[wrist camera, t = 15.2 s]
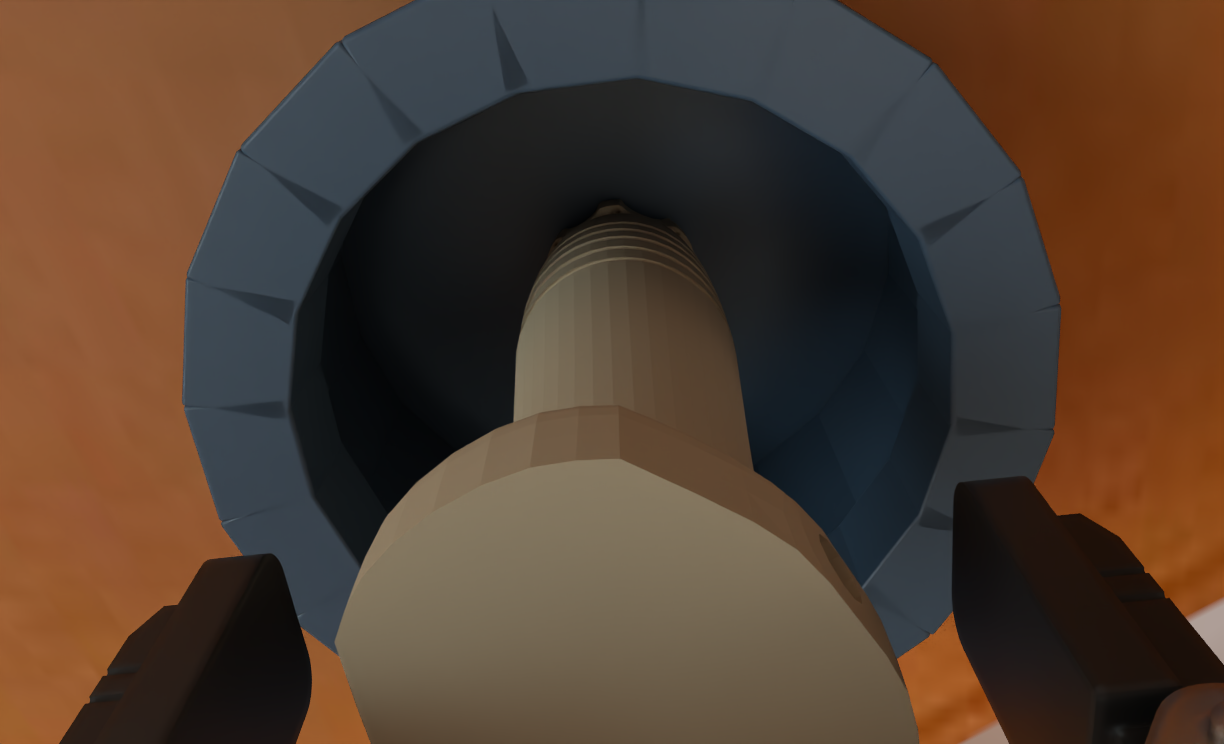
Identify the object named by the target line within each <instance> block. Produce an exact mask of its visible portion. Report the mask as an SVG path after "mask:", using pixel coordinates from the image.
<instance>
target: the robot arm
mask: <svg viewBox="0 0 1224 744" xmlns="http://www.w3.org/2000/svg"><path fill="white" fill-rule="evenodd" d="M952 606H953V613H954V619H955V624H956V628H957V632H958V635H959V639H960V641H961V644H962V646H963V649H964V651H965V653H966V655H967V657H968V659H969V661H970V663H971V665H972V668H973V670H974V672H975V674H976V676H977V678H978V680H979V682H980V684H981V686H982V688H983V690H984V692H985V694H986V696H987V699H988V701H989V703H990V705H991V707H992V709H993V711H994V713H995V715H996V717H997V719H998V721H999V723H1000V725H1001V727H1002V729H1003V732H1004V734H1005V736H1006V738H1007V740H1008V742H1009V744H1224V665H1223V663H1222V662H1221V661H1220V660H1219V659H1218V657H1217V656H1216V655H1215V654H1214V652H1213V651H1212V650H1211V649H1210V647H1209V646H1208V645H1207V644H1206V643H1205V641H1204V640H1203V639H1202V638H1201V636H1200V635H1199V634H1198V633H1197V631H1196V630H1195V629H1194V628H1193V627H1192V625H1191V624H1190V623H1189V622H1188V620H1187V619H1186V618H1185V617H1184V616H1183V614H1182V613H1181V612H1180V611H1179V609H1178V608H1177V607H1176V606H1175V604H1174V603H1173V602H1172V601H1171V600H1170V598H1165V596H1164V591H1163V590H1162V589H1161V587H1160V586H1159V585H1158V584H1157V582H1156V581H1155V580H1154V579H1153V578H1152V576H1151V575H1150V574H1149V573H1145V571H1144V566H1143V565H1142V564H1141V563H1140V562H1139V560H1138V559H1137V558H1136V557H1135V555H1134V554H1133V553H1132V552H1131V551H1130V549H1129V548H1128V547H1127V546H1126V544H1125V543H1124V542H1123V541H1122V539H1121V538H1120V537H1118V536H1117V535H1115V534H1113V533H1112V532H1110V531H1108V530H1107V529H1105V528H1103V527H1102V526H1100V525H1098V524H1097V523H1095V522H1093V521H1092V520H1090V519H1088V518H1087V517H1085V516H1083V515H1082V514H1080V513H1079V514H1069V515H1060V516H1057V515H1056V514H1055V512H1054V511H1053V510H1052V508H1051V507H1050V506H1049V504H1048V503H1047V502H1046V500H1045V499H1044V498H1043V496H1042V495H1041V494H1040V492H1039V491H1038V490H1037V488H1036V487H1035V486H1034V484H1033V483H1032V482H1031V480H1030V479H1029V478H1027V477H1026V476H1014V477H1005V478H995V479H986V480H976V481H967V482H960V483H958V484H957V486H956V488H955V492H954V501H953V544H952ZM107 670H108V674H107V676H103V677H102V678H101V680H100V681H99V683H98V685H97V686H96V688H95V689H94V691H93V692H92V694H91V695H90V703H88V704H85V705H84V706H83V708H82V709H81V711H80V712H79V714H78V715H77V717H76V718H75V720H74V722H73V723H72V725H71V726H70V728H69V729H68V731H67V732H66V734H65V735H64V737H63V738H62V740H61V742H60V743H59V744H296V741H297V739H298V736H299V733H300V730H301V728H302V725H303V722H304V720H305V717H306V714H307V711H308V708H309V704H310V698H311V689H312V673H311V664H310V658H309V654H308V650H307V647H306V644H305V640H304V637H303V634H302V630H301V627H300V624H299V620H298V617H297V614H296V610H295V607H294V604H293V600H292V597H291V594H290V590H289V587H288V584H287V580H286V577H285V574H284V571H283V568H282V565H281V563H280V561H279V560H278V558H277V557H276V556H275V555H274V554H272V553H265V554H256V555H246V556H237V557H227V558H218V559H210V560H207V561H206V562H205V563H204V564H203V565H202V566H201V568H200V569H199V571H198V573H197V574H196V576H195V578H194V579H193V581H192V583H191V584H190V586H189V587H188V589H187V591H186V592H185V594H184V596H183V597H182V599H181V601H180V602H179V604H178V605H171V606H164V607H163V608H162V609H160V610H159V611H158V612H157V613H156V614H155V615H153V616H152V617H151V618H150V619H149V620H147V621H146V622H145V623H144V624H143V625H142V626H140V627H139V628H138V629H137V630H136V631H135V632H133V633H132V634H131V635H130V636H129V637H128V638H127V640H126V641H125V643H124V644H123V646H122V647H121V649H120V651H119V652H118V654H117V655H116V657H115V658H114V660H113V661H112V663H111V664H110V666H109V668H108V669H107Z"/></svg>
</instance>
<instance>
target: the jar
mask: <svg viewBox="0 0 1224 744" xmlns="http://www.w3.org/2000/svg"><path fill="white" fill-rule="evenodd" d="M614 199H620V200H622V201H623V203H624V204H625V205H626V206H627V207H629V208H630V209H632V210H633V211H635V212H637V213H639V214H641V215H643V216H646V217H650V218H653V219H660V220H662V219H665V218H669V219H670V220H671V221H673V222H674V223H675V224H677V225H678V226H679V227H680V228H681V229H682V231H683V232H684V233H685V235H686V237H687V238H688V240H689V242H690V244H691V245H692V249H693V252H694V253H695V255H696V256H697V258H698V259H699V261H700V263H701V264H702V266H703V267H704V269H705V271H706V272H707V275H708V276H709V278H710V280H711V283H712V285H713V287H714V289H715V291H716V293H717V295H718V298H719V300H720V303H721V305H722V308H723V310H724V313H725V316H726V319H727V322H728V325H729V328H730V331H731V335H732V337H733V342H734V346H735V351H736V356H737V363H738V370H739V377H740V384H741V391H742V398H743V405H744V412H745V419H746V426H747V433H748V439H749V445H750V451H751V457H752V463H753V469H754V472H756V473H757V474H759V475H761V476H762V477H764V478H765V479H767V480H768V481H770V482H771V483H773V484H774V485H775V486H777V487H778V488H779V489H780V490H782V491H783V492H784V493H785V494H786V495H788V496H789V497H790V498H792V499H793V500H794V501H796V502H797V504H798V505H799V506H800V507H801V508H802V509H803V510H804V511H805V512H806V513H807V514H808V515H809V516H810V517H811V518H812V519H813V520H814V521H815V522H816V523H817V524H818V526H819V527H820V528H821V529H822V530H823V531H824V533H825V534H826V536H827V537H828V539H829V540H830V542H831V543H832V545H833V546H834V548H835V549H836V551H837V552H838V554H839V555H840V557H841V558H842V559H843V561H844V562H845V564H846V565H847V567H848V568H849V569H850V571H851V572H852V574H853V575H854V577H855V578H856V580H857V581H858V583H859V584H860V586H861V587H862V589H863V590H864V592H865V593H866V595H867V596H868V598H869V600H870V602H871V603H872V605H873V607H874V609H875V610H876V612H877V614H878V616H879V617H880V619H881V621H882V624H883V626H884V629H885V631H886V634H887V636H888V639H889V641H890V643H891V646H892V648H893V651H894V653H895V656H896V658H899V657H900V656H902V655H903V654H904V653H906V652H907V651H909V650H910V649H912V648H913V647H915V646H916V645H918V644H919V643H921V642H922V641H923V640H925V639H926V638H928V637H929V635H930V634H934V633H935V632H936V631H937V629H938V628H939V627H940V626H941V625H942V623H943V622H944V621H945V620H946V619H947V617H948V616H949V615H950V614H951V613H952V611H953V606H952V544H953V501H954V492H955V488H956V486H957V484H958V483H960V482H967V481H976V480H986V479H995V478H1005V477H1014V476H1026V477H1027V478H1029V479H1030V480H1031V482H1032V483H1033V484H1034V482H1035V479H1036V477H1037V474H1038V472H1039V469H1040V467H1041V465H1042V462H1043V460H1044V457H1045V455H1046V452H1047V450H1048V448H1049V445H1050V443H1051V440H1052V438H1053V435H1054V430H1053V429H1052V428H1054V425H1055V409H1056V392H1057V374H1058V357H1059V339H1060V321H1061V306H1060V304H1059V303H1060V295H1059V292H1058V289H1057V285H1056V282H1055V279H1054V275H1053V272H1052V269H1051V266H1050V262H1049V259H1048V256H1047V253H1046V249H1045V246H1044V243H1043V240H1042V236H1041V233H1040V230H1039V227H1038V223H1037V220H1036V217H1035V214H1034V210H1033V207H1032V204H1031V201H1030V197H1029V194H1028V191H1027V188H1026V184H1025V181H1024V179H1023V178H1022V177H1021V172H1020V170H1019V169H1018V167H1017V166H1016V165H1015V163H1014V162H1013V161H1012V160H1011V158H1010V157H1009V156H1008V154H1007V153H1006V152H1005V151H1004V149H1003V148H1002V147H1001V145H1000V144H999V143H998V142H997V140H996V139H995V138H994V136H993V135H992V134H991V133H990V131H989V130H988V129H987V127H986V126H985V125H984V124H983V122H982V121H981V120H980V118H979V117H978V116H977V115H976V113H975V112H974V111H973V109H972V108H971V107H970V106H969V104H968V103H967V102H966V100H965V99H964V98H963V97H962V95H961V94H960V93H959V91H958V90H957V89H956V88H955V86H954V85H953V84H952V82H951V81H950V80H949V79H948V77H947V76H946V75H945V73H944V72H943V71H942V69H941V68H940V67H939V66H938V64H936V63H934V62H932V60H931V58H930V57H928V56H927V55H925V54H923V53H922V52H920V51H919V50H917V49H915V48H914V47H912V46H911V45H909V44H907V43H906V42H904V41H902V40H901V39H899V38H898V37H896V36H894V35H893V34H891V33H890V32H888V31H886V30H885V29H883V28H881V27H880V26H878V25H877V24H875V23H873V22H872V21H870V20H868V19H867V18H865V17H864V16H862V15H860V14H859V13H857V12H856V11H854V10H852V9H851V8H849V7H847V6H846V5H844V4H843V3H841V2H839V1H838V0H414V1H412V2H411V3H409V4H407V5H405V6H403V7H401V8H399V9H397V10H395V11H393V12H391V13H389V14H387V15H385V16H383V17H381V18H379V19H377V20H375V21H373V22H371V23H370V24H368V25H366V26H364V27H362V28H360V29H358V30H356V31H354V32H352V33H350V34H348V35H346V36H345V37H344V38H343V39H342V40H341V41H339V42H337V43H335V44H334V45H333V46H332V47H331V49H330V50H329V51H328V52H327V53H326V54H325V55H324V56H323V57H322V58H321V59H320V60H319V61H318V63H317V64H316V65H315V66H314V67H313V68H312V69H311V70H310V71H309V72H308V73H307V74H306V76H305V77H304V78H303V79H302V80H301V81H300V82H299V83H298V84H297V85H296V86H295V87H294V89H293V90H292V91H291V92H290V93H289V94H288V95H287V96H286V97H285V98H284V99H283V100H282V101H281V103H280V104H279V105H278V106H277V107H276V108H275V109H274V110H273V111H272V112H271V113H270V114H269V116H268V117H267V118H266V119H265V120H264V121H263V122H262V123H261V124H260V125H259V126H258V127H257V128H256V130H255V131H254V132H253V133H252V134H251V135H250V136H249V137H248V138H247V139H246V140H245V141H244V143H243V144H242V145H241V149H239V150H238V151H237V152H236V154H235V157H234V159H233V162H232V164H231V166H230V169H229V171H228V174H227V176H226V179H225V181H224V184H223V186H222V188H221V191H220V193H219V196H218V198H217V201H216V203H215V206H214V208H213V211H212V213H211V215H210V218H209V220H208V223H207V225H206V228H205V230H204V233H203V235H202V237H201V240H200V242H199V245H198V247H197V250H196V252H195V255H194V257H193V260H192V262H191V264H190V267H189V269H188V272H187V279H186V292H185V325H184V359H183V392H182V403H183V405H185V407H184V411H185V414H186V417H187V420H188V423H189V426H190V430H191V433H192V436H193V439H194V442H195V445H196V448H197V451H198V454H199V457H200V460H201V464H202V467H203V470H204V473H205V476H206V479H207V482H208V485H209V488H210V491H211V495H212V498H213V501H214V504H215V507H216V510H217V513H218V516H219V519H220V520H221V521H222V522H221V525H222V527H223V528H224V530H225V531H226V532H227V534H228V535H229V536H230V538H231V539H232V541H233V542H234V543H235V545H236V546H237V547H238V549H239V550H240V552H241V553H242V554H243V556H246V555H256V554H265V553H272V554H274V555H275V556H276V557H277V558H278V560H279V561H280V563H281V565H282V568H283V571H284V574H285V577H286V580H287V584H288V587H289V590H290V594H291V597H292V600H293V604H294V607H295V610H296V614H297V617H298V620H299V624H300V627H302V628H303V629H304V630H306V631H307V632H308V633H310V634H311V635H312V636H313V637H315V638H316V639H317V640H319V641H320V642H321V643H323V644H324V645H325V646H327V647H328V648H329V649H330V650H332V651H333V652H334V653H336V654H337V655H338V656H339V654H338V651H337V648H336V645H335V639H336V636H337V632H338V629H339V626H340V623H341V620H342V617H343V614H344V611H345V608H346V605H347V603H348V600H349V597H350V595H351V592H352V589H353V586H354V584H355V581H356V578H357V576H358V574H359V571H360V569H361V566H362V564H363V561H364V559H365V556H366V554H367V552H368V550H369V549H370V547H371V545H372V543H373V541H374V539H375V537H376V535H377V533H378V531H379V529H380V527H381V525H382V523H383V522H384V520H385V518H386V517H387V515H388V514H389V513H390V512H391V511H392V510H393V509H394V507H395V506H396V505H397V504H398V503H399V502H400V501H401V499H402V498H403V497H404V496H405V495H406V494H407V493H408V491H409V490H410V489H411V488H412V487H413V486H414V485H415V484H416V483H417V482H418V481H419V480H420V479H422V478H423V477H424V476H425V475H427V474H428V473H429V472H430V471H432V470H433V469H434V468H435V467H437V466H438V465H439V464H440V463H442V462H443V461H444V460H445V459H447V458H448V457H449V456H450V455H452V454H453V453H454V452H456V451H458V450H459V449H461V448H463V447H465V446H466V445H468V444H470V443H472V442H473V441H475V440H477V439H479V438H481V437H482V436H484V435H486V434H488V433H489V432H491V431H493V430H495V429H497V428H499V427H502V426H505V425H507V424H510V423H513V422H514V398H515V373H516V351H517V346H518V340H519V335H520V330H521V325H522V320H523V316H524V311H525V307H526V303H527V301H528V298H529V295H530V293H531V290H532V288H533V285H534V283H535V280H536V278H537V276H538V274H539V271H540V269H541V268H542V266H543V264H544V263H545V261H546V259H547V258H548V254H549V251H550V249H551V246H552V244H553V242H554V240H555V239H556V237H557V236H558V234H559V233H560V232H561V231H562V230H563V229H565V228H572V227H575V226H578V225H579V224H581V223H583V222H585V221H586V220H587V219H588V218H589V217H591V216H592V214H593V213H594V212H595V211H596V210H597V207H598V205H599V204H600V203H601V202H603V201H607V200H614Z"/></svg>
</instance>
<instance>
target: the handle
mask: <svg viewBox="0 0 1224 744" xmlns="http://www.w3.org/2000/svg"><path fill="white" fill-rule="evenodd" d="M335 645H336V648H337V651H338V654H339V657H340V660H341V663H342V665H343V668H344V671H345V674H346V677H347V680H348V683H349V686H350V689H351V691H352V694H353V697H354V700H355V703H356V706H357V709H358V711H359V714H360V716H361V719H362V722H363V724H364V727H365V729H366V732H367V735H368V737H369V740H370V742H371V744H919V736H918V728H917V725H916V721H915V717H914V713H913V709H912V706H911V702H910V698H909V694H908V691H907V688H906V685H905V682H904V679H903V676H902V673H901V670H900V667H899V664H898V661H897V658H896V656H895V653H894V651H893V648H892V646H891V643H890V641H889V639H888V636H887V634H886V631H885V629H884V626H883V624H882V621H881V619H880V617H879V616H878V614H877V612H876V610H875V609H874V607H873V605H872V603H871V602H870V600H869V598H868V596H867V595H866V593H865V592H864V590H863V589H862V587H861V586H860V584H859V583H858V581H857V580H856V578H855V577H854V575H853V574H852V572H851V571H850V569H849V568H848V567H847V565H846V564H845V562H844V561H843V559H842V558H841V557H840V555H839V554H838V552H837V551H836V549H835V548H834V546H833V545H832V543H831V542H830V540H829V539H828V537H827V536H826V534H825V533H824V531H823V530H822V529H821V528H820V527H819V526H818V524H817V523H816V522H815V521H814V520H813V519H812V518H811V517H810V516H809V515H808V514H807V513H806V512H805V511H804V510H803V509H802V508H801V507H800V506H799V505H798V504H797V502H796V501H794V500H793V499H792V498H790V497H789V496H788V495H786V494H785V493H784V492H783V491H782V490H780V489H779V488H778V487H777V486H775V485H774V484H773V483H771V482H770V481H768V480H767V479H765V478H764V477H762V476H761V475H759V474H757V473H756V472H754V469H753V463H752V457H751V451H750V445H749V439H748V433H747V426H746V419H745V412H744V405H743V398H742V391H741V384H740V377H739V370H738V363H737V356H736V351H735V346H734V342H733V337H732V335H731V331H730V328H729V325H728V322H727V319H726V316H725V313H724V310H723V308H722V305H721V303H720V300H719V298H718V295H717V293H716V291H715V289H714V287H713V285H712V283H711V280H710V278H709V276H708V275H707V272H706V271H705V269H704V267H703V266H702V264H701V263H700V261H699V259H698V258H697V256H696V255H695V253H694V252H693V249H692V245H691V244H690V242H689V240H688V238H687V237H686V235H685V233H684V232H683V231H682V229H681V228H680V227H679V226H678V225H677V224H675V223H674V222H673V221H671V220H670V219H669V218H665V219H662V220H660V219H653V218H650V217H646V216H643V215H641V214H639V213H637V212H635V211H633V210H632V209H630V208H629V207H627V206H626V205H625V204H624V203H623V201H622V200H620V199H614V200H607V201H603V202H601V203H600V204H599V205H598V207H597V210H596V211H595V212H594V213H593V214H592V216H591V217H589V218H588V219H587V220H586V221H585V222H583V223H581V224H579V225H578V226H575V227H572V228H565V229H563V230H562V231H561V232H560V233H559V234H558V236H557V237H556V239H555V240H554V242H553V244H552V246H551V249H550V251H549V254H548V258H547V259H546V261H545V263H544V264H543V266H542V268H541V269H540V271H539V274H538V276H537V278H536V280H535V283H534V285H533V288H532V290H531V293H530V295H529V298H528V301H527V303H526V307H525V311H524V316H523V320H522V325H521V330H520V335H519V340H518V346H517V351H516V373H515V398H514V422H513V423H510V424H507V425H505V426H502V427H499V428H497V429H495V430H493V431H491V432H489V433H488V434H486V435H484V436H482V437H481V438H479V439H477V440H475V441H473V442H472V443H470V444H468V445H466V446H465V447H463V448H461V449H459V450H458V451H456V452H454V453H453V454H452V455H450V456H449V457H448V458H447V459H445V460H444V461H443V462H442V463H440V464H439V465H438V466H437V467H435V468H434V469H433V470H432V471H430V472H429V473H428V474H427V475H425V476H424V477H423V478H422V479H420V480H419V481H418V482H417V483H416V484H415V485H414V486H413V487H412V488H411V489H410V490H409V491H408V493H407V494H406V495H405V496H404V497H403V498H402V499H401V501H400V502H399V503H398V504H397V505H396V506H395V507H394V509H393V510H392V511H391V512H390V513H389V514H388V515H387V517H386V518H385V520H384V522H383V523H382V525H381V527H380V529H379V531H378V533H377V535H376V537H375V539H374V541H373V543H372V545H371V547H370V549H369V550H368V552H367V554H366V556H365V559H364V561H363V564H362V566H361V569H360V571H359V574H358V576H357V578H356V581H355V584H354V586H353V589H352V592H351V595H350V597H349V600H348V603H347V605H346V608H345V611H344V614H343V617H342V620H341V623H340V626H339V629H338V632H337V636H336V639H335Z"/></svg>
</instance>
